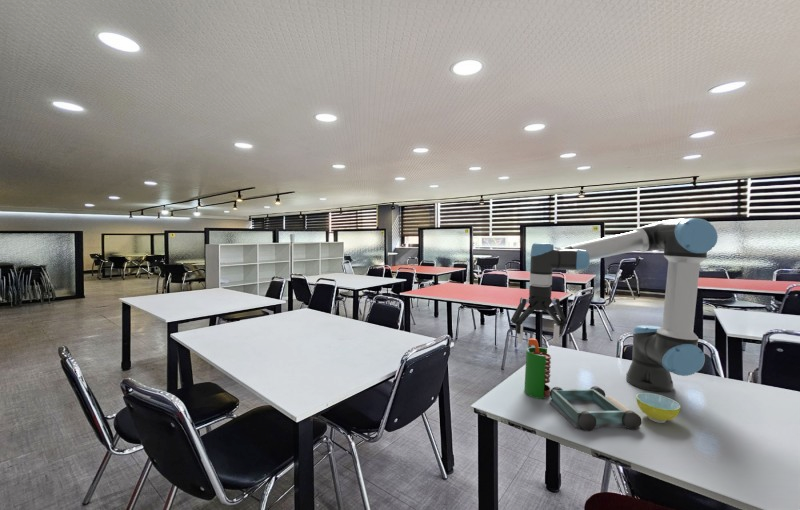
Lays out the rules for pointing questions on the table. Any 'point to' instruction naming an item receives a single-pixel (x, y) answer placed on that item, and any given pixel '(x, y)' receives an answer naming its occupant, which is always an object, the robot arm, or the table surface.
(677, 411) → the bowl
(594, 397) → the chassis
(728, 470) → the table surface
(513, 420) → the table surface
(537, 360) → the motor
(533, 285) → the robot arm
